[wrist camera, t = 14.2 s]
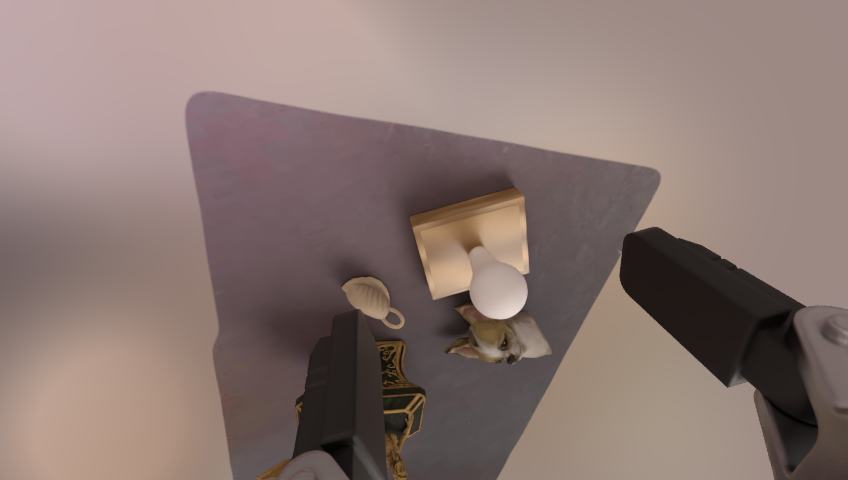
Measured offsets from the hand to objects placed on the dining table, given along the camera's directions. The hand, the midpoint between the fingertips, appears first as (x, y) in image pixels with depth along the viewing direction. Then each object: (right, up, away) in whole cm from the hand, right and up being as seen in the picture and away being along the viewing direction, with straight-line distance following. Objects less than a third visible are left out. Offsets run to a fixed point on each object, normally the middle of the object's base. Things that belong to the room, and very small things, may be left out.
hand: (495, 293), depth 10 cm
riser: (+4, +2, +35) cm, 35 cm away
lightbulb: (+5, 0, +33) cm, 33 cm away
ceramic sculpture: (+8, -11, +44) cm, 46 cm away
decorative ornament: (-10, -6, +37) cm, 39 cm away
